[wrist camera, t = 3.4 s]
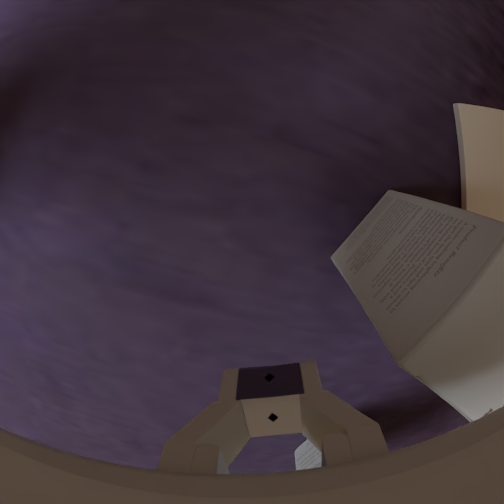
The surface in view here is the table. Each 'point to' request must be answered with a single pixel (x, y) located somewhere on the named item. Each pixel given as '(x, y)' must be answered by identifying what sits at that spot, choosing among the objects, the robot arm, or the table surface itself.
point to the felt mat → (481, 159)
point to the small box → (434, 295)
